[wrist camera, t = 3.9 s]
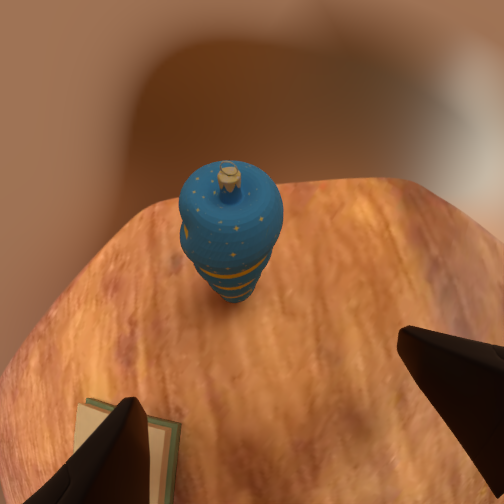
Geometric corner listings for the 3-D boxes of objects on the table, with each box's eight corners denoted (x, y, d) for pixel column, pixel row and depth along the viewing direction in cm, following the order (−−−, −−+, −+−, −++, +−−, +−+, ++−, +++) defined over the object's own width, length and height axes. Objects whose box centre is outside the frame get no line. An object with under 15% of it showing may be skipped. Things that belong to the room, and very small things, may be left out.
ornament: (217, 262, 25) (189, 116, 12) (275, 276, 25) (300, 132, 12) (198, 317, 23) (134, 199, 10) (260, 334, 22) (275, 229, 9)
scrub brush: (181, 423, 19) (171, 426, 16) (169, 555, 12) (160, 570, 9) (92, 398, 19) (74, 396, 16) (86, 525, 12) (70, 535, 10)
